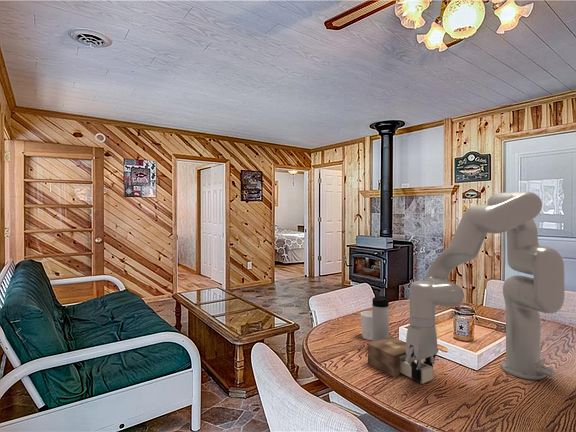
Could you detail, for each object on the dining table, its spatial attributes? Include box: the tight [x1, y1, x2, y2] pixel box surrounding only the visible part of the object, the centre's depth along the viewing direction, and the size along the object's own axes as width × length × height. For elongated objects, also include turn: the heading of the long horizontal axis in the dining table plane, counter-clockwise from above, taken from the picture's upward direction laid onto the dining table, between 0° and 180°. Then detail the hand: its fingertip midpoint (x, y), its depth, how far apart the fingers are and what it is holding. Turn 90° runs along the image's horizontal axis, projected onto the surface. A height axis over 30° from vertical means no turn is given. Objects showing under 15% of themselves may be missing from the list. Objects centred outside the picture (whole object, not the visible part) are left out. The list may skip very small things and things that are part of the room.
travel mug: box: [371, 295, 391, 342], centre depth 135 cm, size 6×7×20 cm
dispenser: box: [367, 335, 416, 378], centre depth 120 cm, size 13×12×7 cm
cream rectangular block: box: [399, 359, 434, 385], centre depth 114 cm, size 14×5×4 cm, turn 31°
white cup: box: [360, 310, 372, 341], centre depth 146 cm, size 8×8×10 cm
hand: (422, 377), depth 110 cm, fingers closed on cream rectangular block, 5 cm apart
